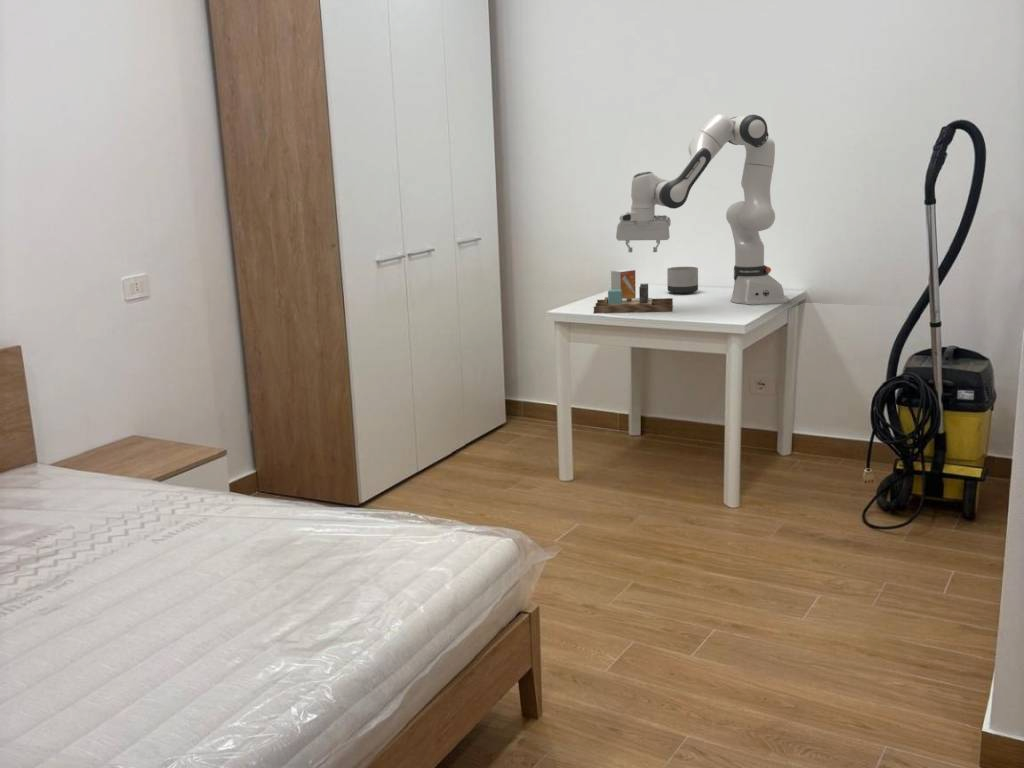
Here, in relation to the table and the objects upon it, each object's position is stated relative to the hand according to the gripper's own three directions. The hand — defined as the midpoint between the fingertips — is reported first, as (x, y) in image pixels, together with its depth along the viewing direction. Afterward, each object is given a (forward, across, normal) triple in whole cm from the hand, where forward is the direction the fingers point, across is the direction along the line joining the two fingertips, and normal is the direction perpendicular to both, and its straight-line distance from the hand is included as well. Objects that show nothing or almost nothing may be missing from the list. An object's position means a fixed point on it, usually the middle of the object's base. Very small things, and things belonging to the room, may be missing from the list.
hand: (642, 252), depth 376 cm
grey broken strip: (+22, +6, -7) cm, 24 cm away
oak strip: (+22, +6, +1) cm, 22 cm away
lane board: (+22, +4, -4) cm, 23 cm away
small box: (+23, +9, -22) cm, 33 cm away
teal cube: (+20, +11, +1) cm, 22 cm away
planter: (+22, -14, -42) cm, 50 cm away
